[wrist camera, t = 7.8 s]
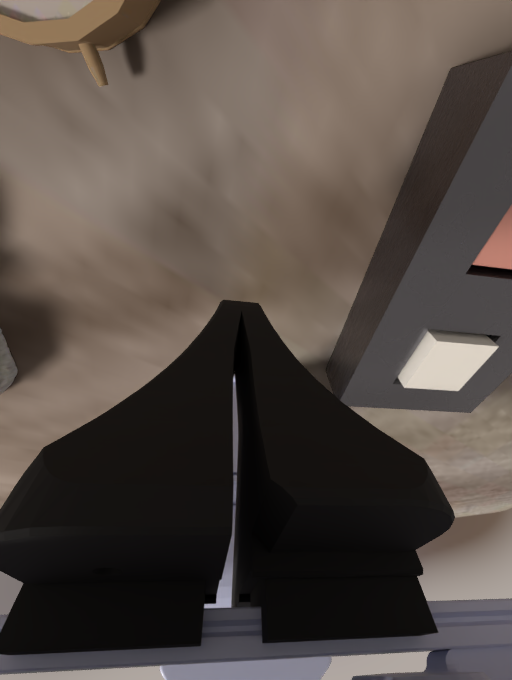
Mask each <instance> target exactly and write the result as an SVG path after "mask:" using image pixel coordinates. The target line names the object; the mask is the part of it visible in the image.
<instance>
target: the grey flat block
mask: <svg viewBox="0 0 512 680" xmlns="http://www.w3.org/2000/svg"><path fill="white" fill-rule="evenodd" d="M511 205H512V51H511V52H507V53H504V54H500V55H496V56H493V57H489V58H486V59H482V60H478V61H475V62H471V63H468V64H464V65H461V66H457V67H453V68H451V69H450V72H449V74H448V76H447V79H446V81H445V84H444V86H443V88H442V91H441V93H440V96H439V98H438V100H437V103H436V105H435V108H434V110H433V113H432V115H431V117H430V120H429V122H428V125H427V127H426V129H425V132H424V134H423V137H422V139H421V141H420V144H419V146H418V149H417V151H416V154H415V156H414V158H413V161H412V163H411V166H410V168H409V170H408V173H407V175H406V178H405V180H404V183H403V185H402V187H401V190H400V192H399V195H398V197H397V199H396V202H395V204H394V207H393V209H392V211H391V214H390V216H389V219H388V221H387V224H386V226H385V228H384V231H383V233H382V236H381V238H380V240H379V243H378V245H377V248H376V250H375V252H374V255H373V257H372V260H371V262H370V265H369V267H368V269H367V272H366V274H365V277H364V279H363V281H362V284H361V286H360V289H359V291H358V293H357V296H356V298H355V301H354V303H353V306H352V308H351V310H350V313H349V315H348V318H347V320H346V322H345V325H344V327H343V330H342V332H341V335H340V337H339V339H338V342H337V344H336V347H335V349H334V351H333V354H332V356H331V359H330V361H329V363H328V366H327V368H326V373H327V376H328V379H329V382H330V385H331V388H332V391H333V394H334V396H336V397H337V398H338V399H339V400H340V401H341V402H343V403H344V404H345V405H346V406H355V407H374V408H392V409H410V410H429V411H447V412H465V413H471V412H472V411H473V410H474V409H475V408H476V407H477V406H478V405H479V404H480V403H481V402H482V401H483V400H484V399H485V398H486V397H487V396H488V395H489V394H490V393H491V392H492V391H494V390H495V389H496V388H497V387H498V386H499V385H500V384H501V383H502V382H503V381H504V380H505V379H506V378H507V377H508V376H509V375H510V374H511V373H512V269H504V268H496V267H488V266H480V265H472V263H473V262H474V260H475V259H476V257H477V256H478V254H479V253H480V251H481V250H482V248H483V247H484V245H485V244H486V242H487V241H488V239H489V238H490V236H491V235H492V233H493V232H494V230H495V229H496V227H497V226H498V224H499V223H500V221H501V220H502V218H503V217H504V215H505V214H506V212H507V211H508V209H509V208H510V206H511ZM429 329H431V330H442V331H453V332H464V333H475V334H485V335H486V336H487V337H489V338H490V339H491V340H492V341H493V342H494V343H496V344H497V345H498V346H499V347H498V348H497V350H496V351H495V352H494V353H493V354H492V355H491V356H490V357H489V358H488V359H487V360H486V362H485V363H484V364H483V365H482V366H481V367H480V368H479V369H478V370H477V371H476V373H475V374H474V375H473V376H472V377H471V378H470V379H469V380H468V381H467V382H466V383H465V385H464V386H463V387H462V388H461V389H460V390H459V391H448V390H432V389H417V388H404V387H403V385H402V384H401V382H400V380H399V379H398V377H397V376H398V375H399V373H400V372H401V370H402V369H403V367H404V366H405V364H406V363H407V361H408V360H409V358H410V357H411V355H412V354H413V352H414V351H415V349H416V348H417V346H418V345H419V343H420V342H421V340H422V339H423V337H424V336H425V334H426V333H427V331H428V330H429Z"/></svg>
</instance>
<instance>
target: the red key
mask: <svg viewBox="0 0 512 680" xmlns="http://www.w3.org/2000/svg"><path fill="white" fill-rule="evenodd" d="M472 265H480V266H488V267H496V268H504V269H512V205H511V206H510V208H509V209H508V211H507V212H506V214H505V215H504V217H503V218H502V220H501V221H500V223H499V224H498V226H497V227H496V229H495V230H494V232H493V233H492V235H491V236H490V238H489V239H488V241H487V242H486V244H485V245H484V247H483V248H482V250H481V251H480V253H479V254H478V256H477V257H476V259H475V260H474V262H473V263H472Z"/></svg>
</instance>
